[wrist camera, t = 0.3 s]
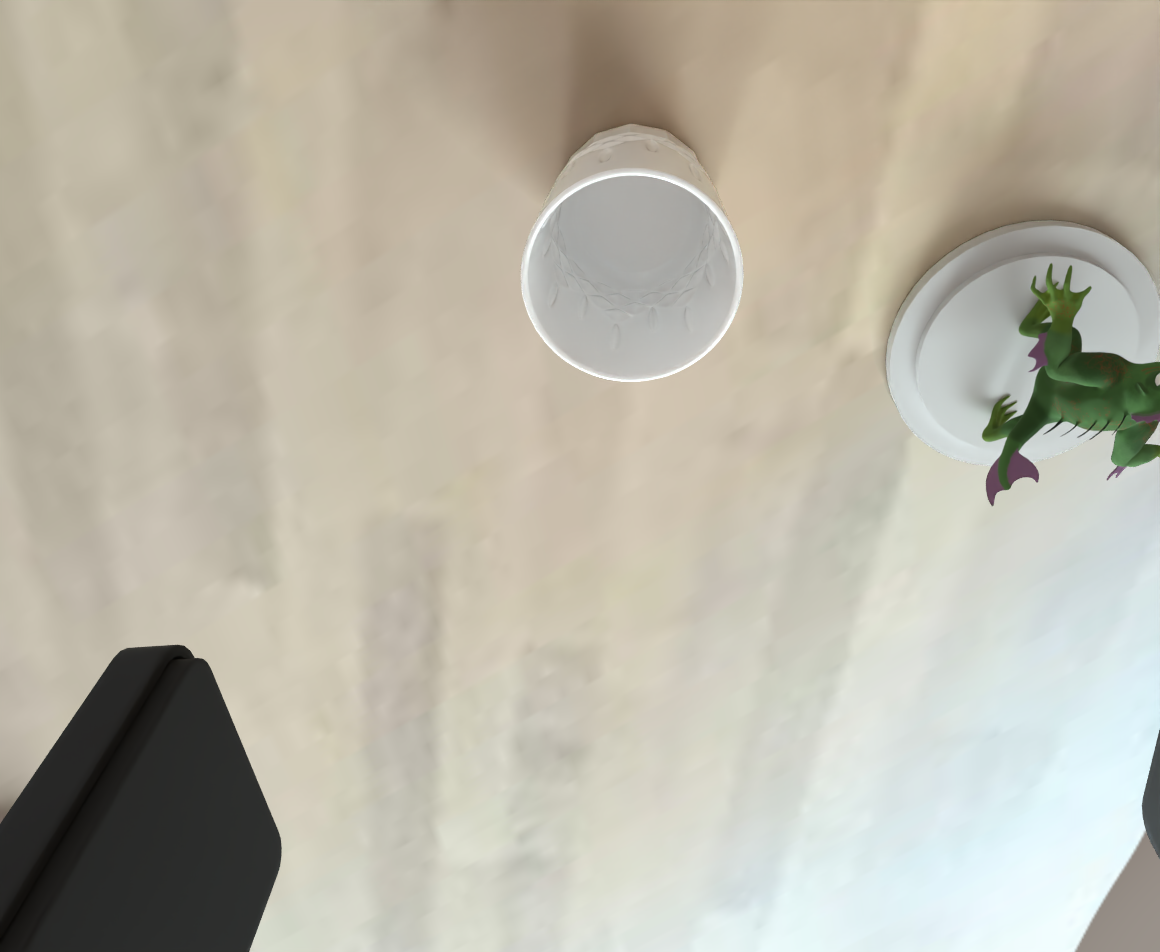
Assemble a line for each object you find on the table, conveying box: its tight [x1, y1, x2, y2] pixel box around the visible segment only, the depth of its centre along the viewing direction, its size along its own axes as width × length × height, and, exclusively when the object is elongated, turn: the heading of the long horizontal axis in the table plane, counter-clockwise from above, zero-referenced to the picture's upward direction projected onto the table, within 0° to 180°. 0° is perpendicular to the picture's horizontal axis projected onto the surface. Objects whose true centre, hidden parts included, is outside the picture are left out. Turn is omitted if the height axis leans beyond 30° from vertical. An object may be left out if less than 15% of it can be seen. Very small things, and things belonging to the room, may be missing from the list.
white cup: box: [521, 124, 744, 382], centre depth 39 cm, size 8×8×10 cm
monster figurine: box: [886, 220, 1160, 506], centre depth 41 cm, size 12×12×10 cm
